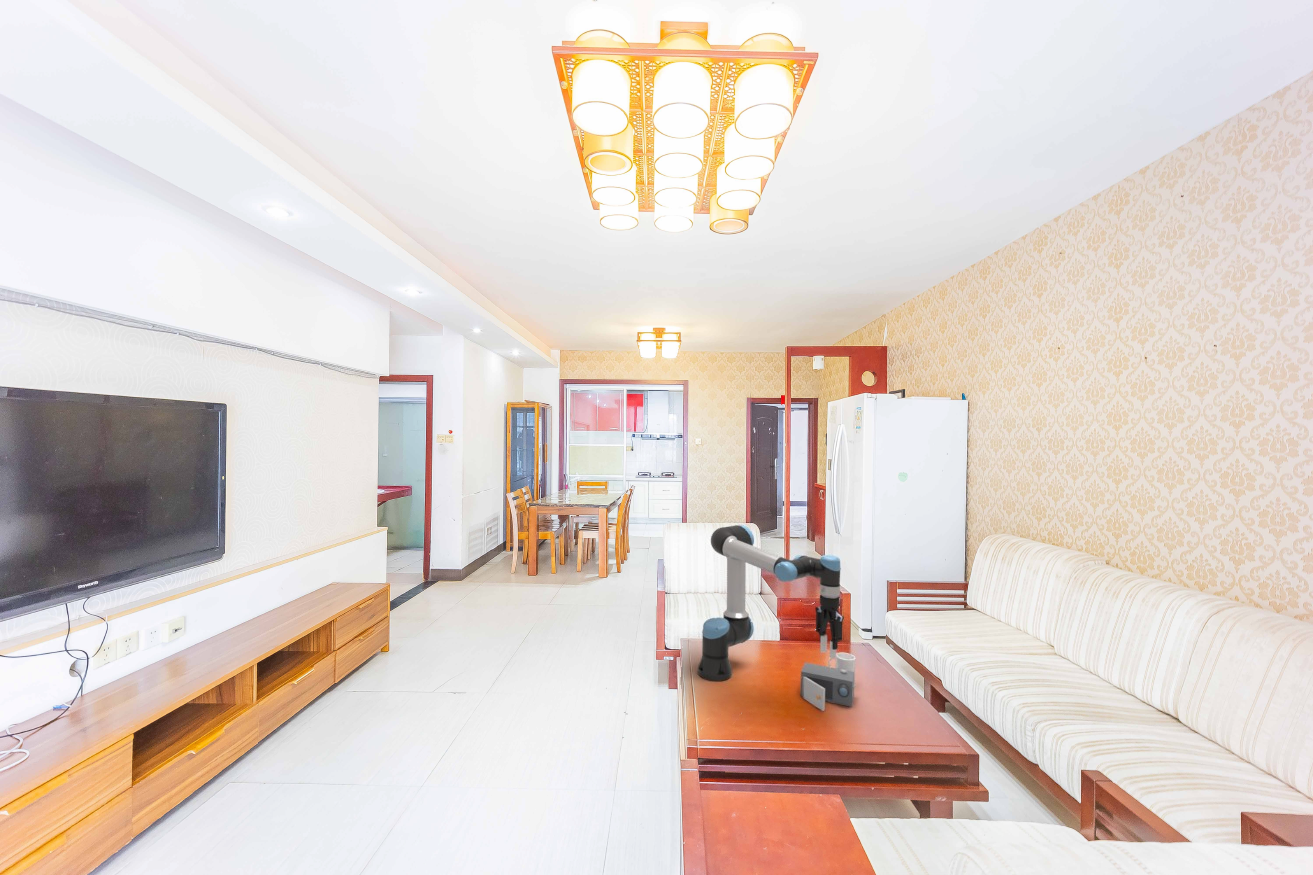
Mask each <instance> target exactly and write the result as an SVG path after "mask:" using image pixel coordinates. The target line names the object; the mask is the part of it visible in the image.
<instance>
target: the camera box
mask: <svg viewBox="0 0 1313 875" xmlns="http://www.w3.org/2000/svg"><path fill="white" fill-rule="evenodd" d="M803 676H805V677H807V678H808V679H810V680H812V681H813V682H815V683H817V684H818V685H820V686H822V687H823V688H825V702H828V703H832V704H837V705H842V706H846V707H851V708H852V707H853V704H854V698H855V687H854V677H855V678H856V671H855V672H852V671H847V670H845V669H837V668H836V667H832V666H831V667H829V666H826V665H825V666H824V665H820V664H815V663H809V662H804V663H803V666H802V667H801V670H800V695H799V696H801V697H802V687H803Z"/></svg>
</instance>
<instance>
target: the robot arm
mask: <svg viewBox="0 0 1313 875" xmlns="http://www.w3.org/2000/svg"><path fill="white" fill-rule="evenodd" d="M754 544H755V537H754V534H753V532H752V531H751V530H750V528H749V527H747V526H746V525H742V524H741V525H740V524H739V525H738V524H737V525H736V524H735V525H730V526H724V527H719V528H716V529H715V530H714V531H713V532H712V534H711V536H710V545H711V547H712V549H713V550H714V551H715V552H716V553H717V554H719V555H722V556H724V557H726V610H724V612H723V617H712V618H709V619H707V620H705V621H704V622H703V625H702V627H703V628H702V641H701V642H702V645H701V646H702V649H701V650H702V652H701V657H700V660H699V663H698V666H697V675H698V676H700V678H703V679H704V680H708V681H713V682H721V681H722V682H723V681H728V680H730V679H731V678H732V676H733V669H732V665H731V662H730V658H729V649H730V647H733V646H737V645H739V644H743V643H746V641H748V640H750V639H751V638H752V636H753V634H754V630H755V629H754V622H753V621H752V618H751V617H750V616H749V613H748V612H747V611H746V583H747V582H746V580H747V579H746V572H747V571H746V570H747V569H746V567H747V566H746V565H747V564H749V565H751V566H752V567H756V568H758V569H761V570H763V571H766V572H767V573H771V574H773V575H775V577H776V578H777V579H778V581H780V582H783V583H785V582H786V583H787V582H792V581H795V580H798V579H802V578H805V577H812V578H816V579H819V594H820V595H819V606H815V617H816V618H815V631H816V632H817V633H818V635H819V643H820V645H819V646H820V650H819V651H820V652H819V653H822V654H823V653H827V652H828V635H827V633H828V632H827V629H828V624H829V629H830V637H831V639H830V640H829V659H830V658H833V657H836V654H837V650H838V644H839V643H838V642H840V641H842V640H843V628H844V627H843V621H844V619H845V616H844V615H841V614H839V607H840V599H841V598H840V596H841V592H840V590H841V584H840V582H841V570H842V568H841V559H840V558H839V557H838V556H835V555H830V554H824V555H822V556H820V559H819V558H816V557H811V556H808V555H801V554H798V555H796V556H795V557H794V558H792V559H787V558H784V557H782V556H780V555H778V554H775V553H772V552H770V551H767V550H765V549H761V548H759V547H757V546H754ZM833 659H834V658H833Z"/></svg>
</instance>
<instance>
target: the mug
mask: <svg viewBox="0 0 1313 875" xmlns="http://www.w3.org/2000/svg"><path fill="white" fill-rule="evenodd" d="M833 659H835V668H837V669H845V670H847V671H852V672H855V673H856V656H855V655H853V654H851V653H847V652H836V657H833V658H830V657H829V659H828V667H831V668H832V666H831V660H833ZM855 687H856V676H855V677H854V688H855Z"/></svg>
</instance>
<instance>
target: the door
mask: <svg viewBox="0 0 1313 875" xmlns="http://www.w3.org/2000/svg"><path fill="white" fill-rule="evenodd" d="M801 697H802V699H804V700H806V701H807V702H808V703H810V704H812V705H813V706H814V707H816V708H818V709H819V710H820V711H822V712H823V711H825V710H826V708H825V707H826V701H825V688H823V687H822V686H820V685H818V684H817V683H815V682H813V681H812V680H810V679H808V678H807V677H805V676H803V687H802V696H801Z"/></svg>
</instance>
